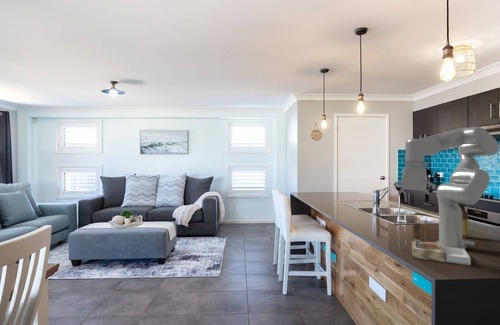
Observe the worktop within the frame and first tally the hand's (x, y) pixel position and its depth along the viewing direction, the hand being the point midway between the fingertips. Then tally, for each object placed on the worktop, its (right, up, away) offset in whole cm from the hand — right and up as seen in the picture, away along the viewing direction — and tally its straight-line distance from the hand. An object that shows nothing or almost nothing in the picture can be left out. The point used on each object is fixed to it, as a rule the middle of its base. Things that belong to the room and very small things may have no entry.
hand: (414, 202), depth 131 cm
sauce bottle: (+43, -24, +27) cm, 56 cm away
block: (+5, -20, -4) cm, 21 cm away
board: (+4, -24, -4) cm, 24 cm away
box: (+13, -24, -9) cm, 28 cm away
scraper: (0, -20, -2) cm, 20 cm away
